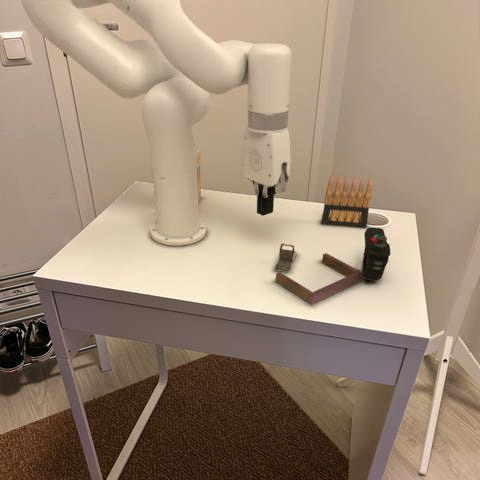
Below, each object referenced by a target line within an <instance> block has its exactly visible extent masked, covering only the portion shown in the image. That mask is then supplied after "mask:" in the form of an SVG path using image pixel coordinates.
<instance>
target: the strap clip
mask: <svg viewBox="0 0 480 480" xmlns="http://www.w3.org/2000/svg"><path fill="white" fill-rule="evenodd" d="M283 246H285V247H290V248H292V249H287V248H286V249H285V248H283ZM278 257H279V258H278V259H279V261H277V263H276V265H275V267H274V269H275V271H278V272H283V273H288V272H290V271H291V268H292V263H294V261H295V259H296V258H297V251H296V250H295V245H293V244H288V243H281V244H280V246H279V256H278Z"/></svg>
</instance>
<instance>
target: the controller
mask: <svg viewBox="0 0 480 480" xmlns="http://www.w3.org/2000/svg"><path fill="white" fill-rule="evenodd" d="M387 240H388V238H387V236H386V233H385V230H384V229H383V228H380V227H366V230H365V231H364V251H363V256H362V257H363V258H362V271H361V272H363V278H364V279H365V280H367V281H373V282H374V281H380V280H381V279H382V278H383V275H384V272H385V270H386V266H387V265H388V263H389V257H390V256H391V245H390V243H388V242H387Z"/></svg>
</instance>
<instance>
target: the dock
mask: <svg viewBox="0 0 480 480" xmlns="http://www.w3.org/2000/svg"><path fill="white" fill-rule="evenodd" d="M321 263H322V264H323V265H325V266H327V267H329V268H331V269H333V270H334V271H336V272H338V273H340V274H342V275H343V276H345V277H343V278H341V279H339V280H335V281H334V282H332V283H329V284H328V285H325V286H323V287H321V288H319V289H317V290H314V291H312V290H310V289H308V288H307V287H305V286H303V285H302V284H301V283H299V282H297V281H296V280H294V279H292V278H291V277H289V276H288V275H286V274H284V273H282V271H278V272H277V273H275V283H276V284H278V285H279V286H281V287H282V288H284V289H286V291H288V292H290V293H292V294H293V295H295V296H297V297H298V298H299V299H301V300H303V301H304V302H306V303H308V304H309V305H310V306H313V305H315V304H317V303H320V302H322V301H323V300H325V299H328V298H330V297H332V296H334V295H337V294H339V293H341V292H343V291H345V290H347V289H349V288H351V287H353V286H355V285H357V284H360V283H361V282H363V278H364V277H363V272H362V271H361V270H359V269H358V268H355V267H353V266H352V265H349V264H348V263H346V262H344V261H342V260H340V259H339V258H336V257H334V256H332V255H331V254H328V253H327V252H326V253H323V254H322V258H321Z"/></svg>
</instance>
